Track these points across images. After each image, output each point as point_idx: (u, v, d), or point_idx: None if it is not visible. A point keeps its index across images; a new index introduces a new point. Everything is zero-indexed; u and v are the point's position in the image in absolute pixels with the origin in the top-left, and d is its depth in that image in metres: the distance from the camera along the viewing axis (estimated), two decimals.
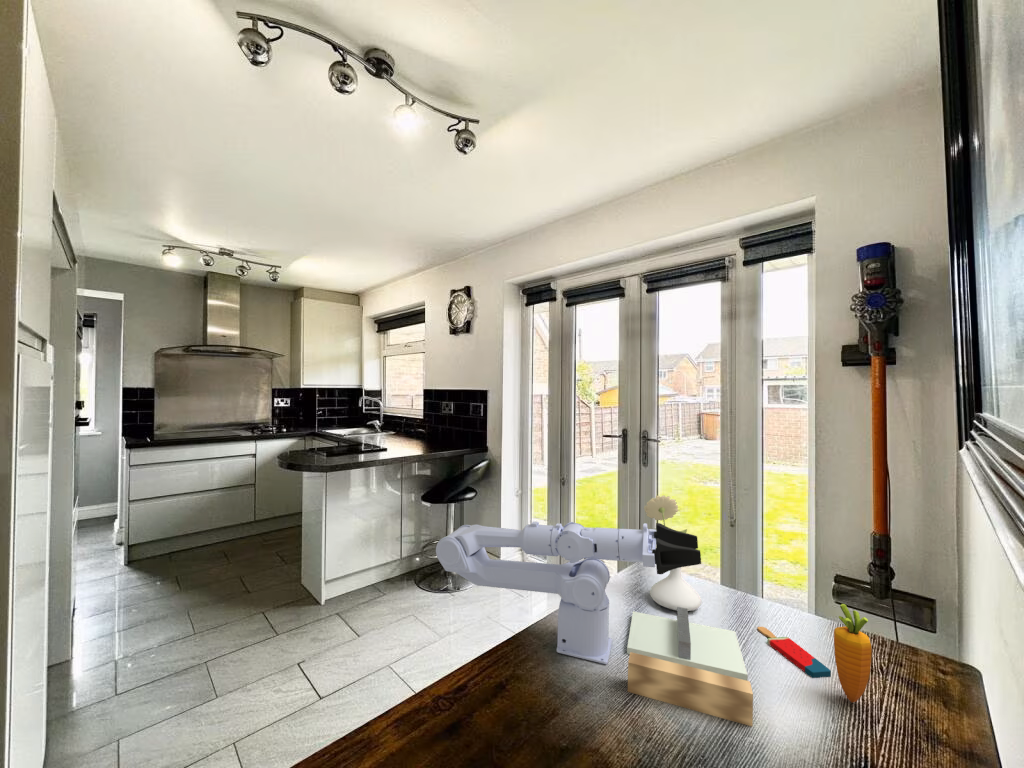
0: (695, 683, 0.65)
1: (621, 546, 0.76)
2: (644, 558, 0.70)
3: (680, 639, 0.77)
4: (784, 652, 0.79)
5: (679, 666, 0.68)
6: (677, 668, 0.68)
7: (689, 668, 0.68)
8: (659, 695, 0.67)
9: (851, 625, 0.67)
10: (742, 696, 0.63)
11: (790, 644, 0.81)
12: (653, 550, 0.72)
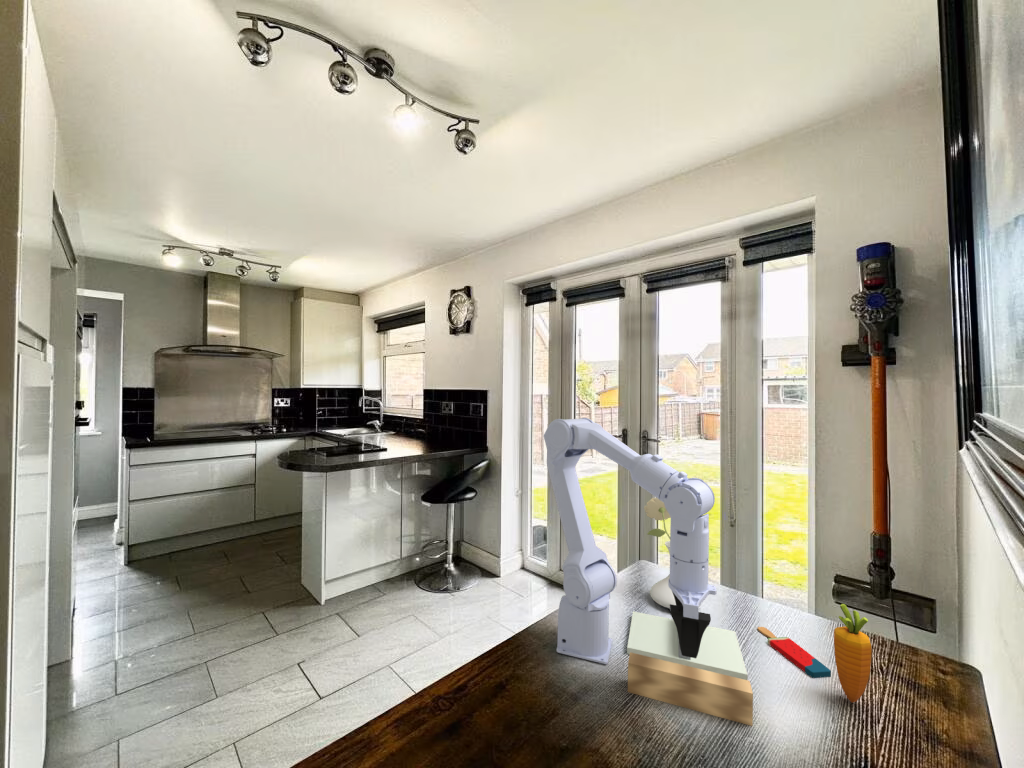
0: (695, 683, 0.65)
1: (694, 566, 0.64)
2: (693, 607, 0.60)
3: None
4: (785, 652, 0.79)
5: (678, 666, 0.68)
6: (677, 668, 0.68)
7: (689, 668, 0.68)
8: (659, 695, 0.67)
9: (851, 625, 0.67)
10: (742, 695, 0.63)
11: (790, 644, 0.81)
12: None
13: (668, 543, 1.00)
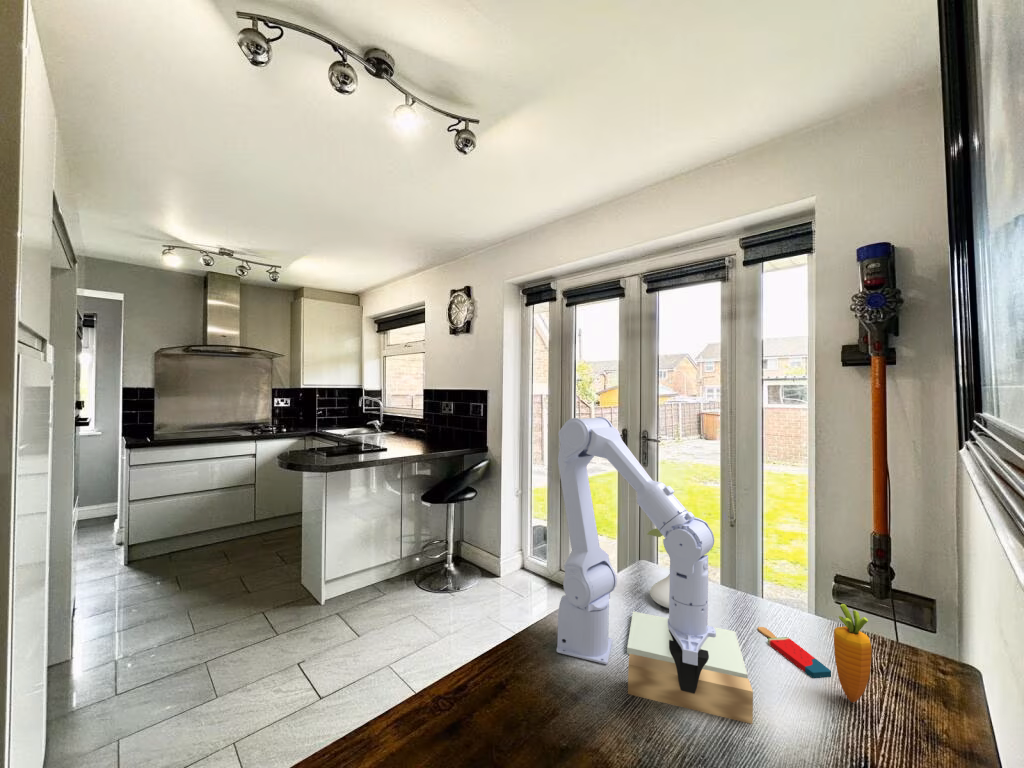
0: None
1: (693, 609, 0.64)
2: (693, 653, 0.60)
3: None
4: (785, 653, 0.79)
5: None
6: None
7: None
8: (660, 696, 0.67)
9: (851, 625, 0.67)
10: (742, 693, 0.63)
11: (790, 644, 0.81)
12: None
13: None
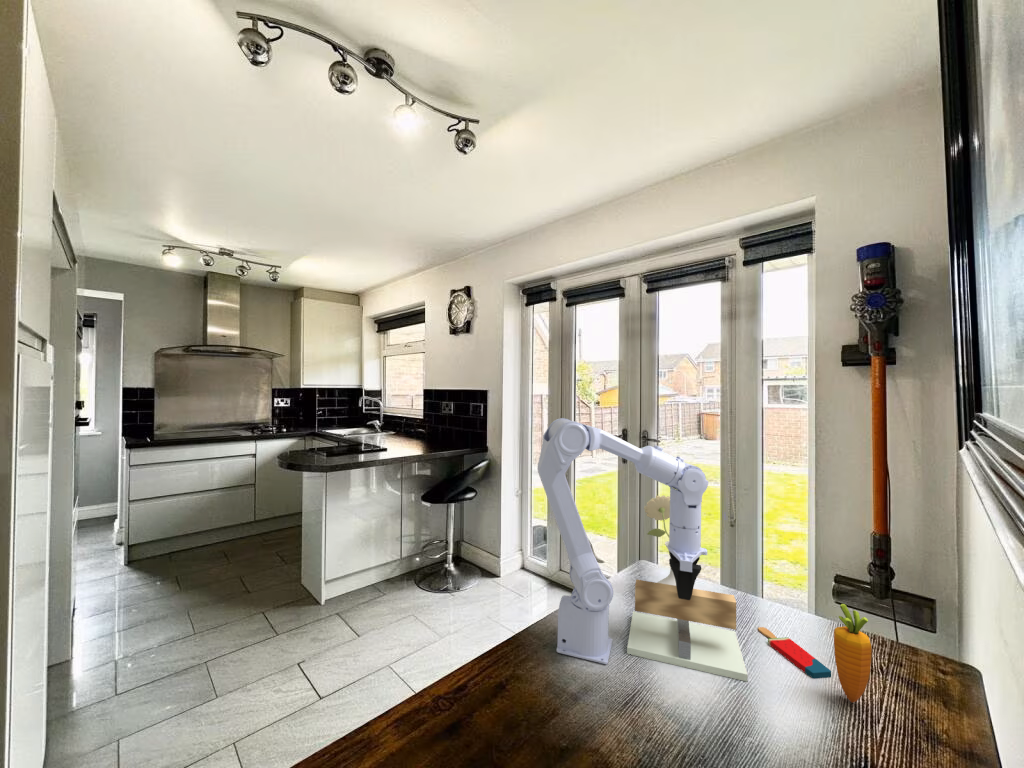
0: None
1: (689, 532, 0.79)
2: (688, 563, 0.75)
3: (680, 639, 0.77)
4: (785, 653, 0.79)
5: None
6: (675, 588, 0.83)
7: None
8: (661, 610, 0.82)
9: (851, 625, 0.67)
10: (728, 604, 0.78)
11: (790, 645, 0.81)
12: None
13: (668, 543, 1.00)
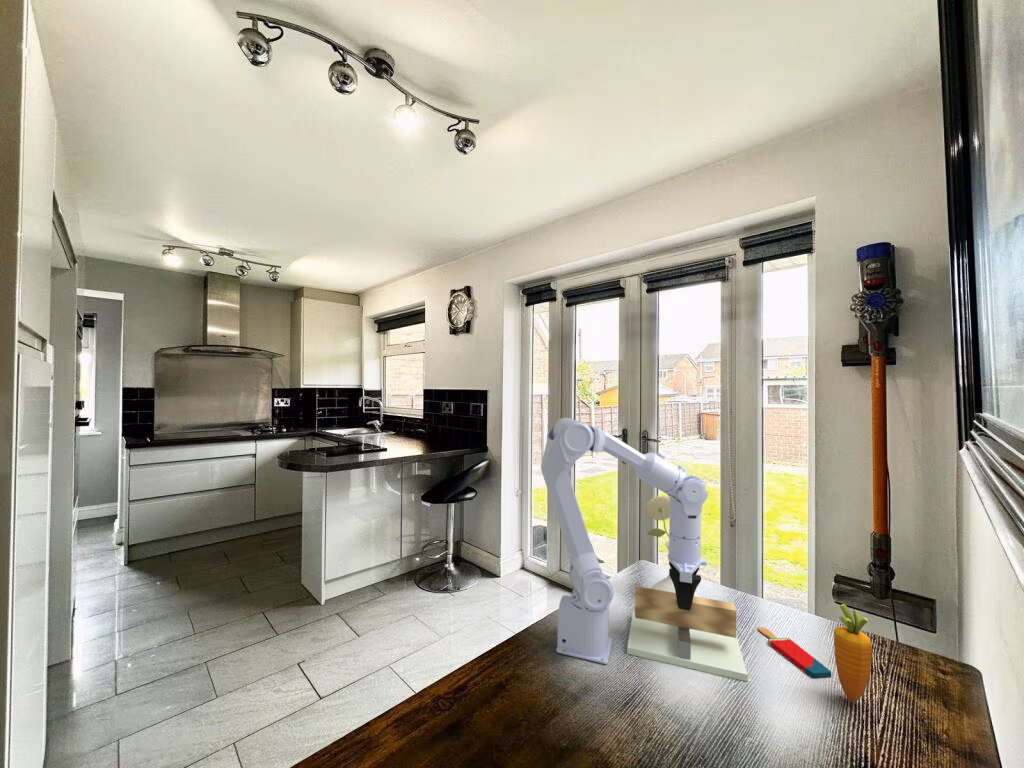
0: None
1: (688, 542, 0.79)
2: (688, 574, 0.75)
3: (680, 639, 0.77)
4: (785, 653, 0.79)
5: None
6: (675, 596, 0.83)
7: None
8: (661, 617, 0.82)
9: (851, 625, 0.67)
10: (728, 612, 0.78)
11: (791, 645, 0.81)
12: None
13: (668, 543, 1.00)
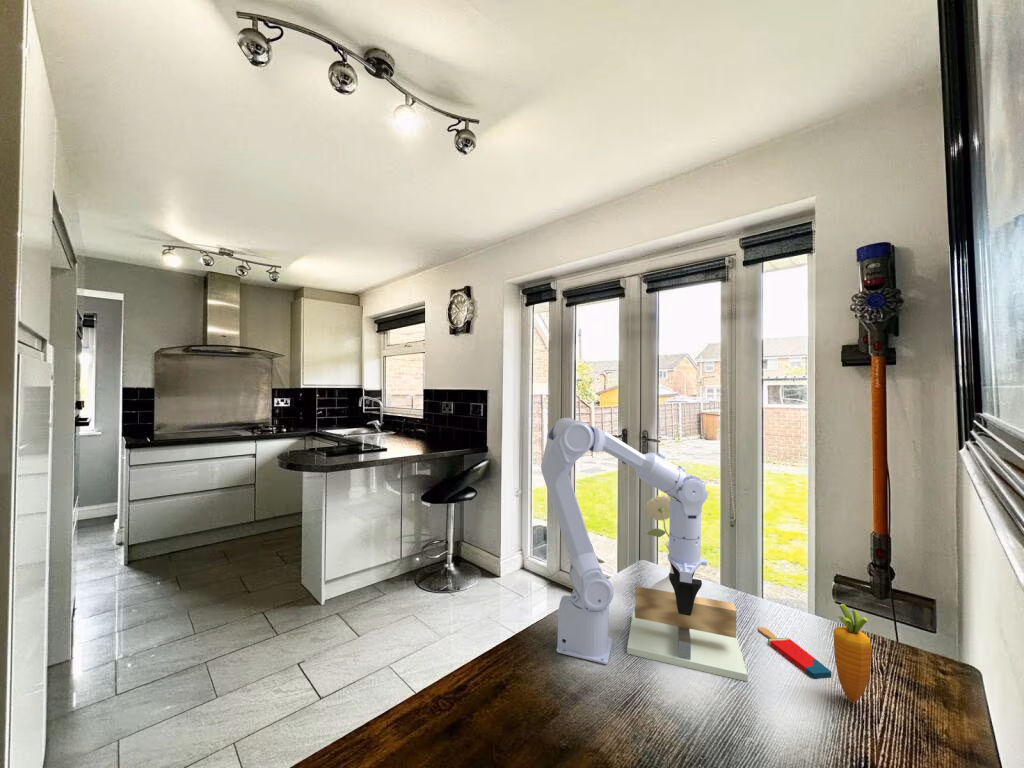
0: None
1: (688, 542, 0.79)
2: (688, 574, 0.75)
3: (680, 639, 0.77)
4: (785, 653, 0.79)
5: None
6: (675, 596, 0.83)
7: None
8: (661, 617, 0.82)
9: (851, 625, 0.67)
10: (728, 612, 0.78)
11: (791, 645, 0.81)
12: None
13: (668, 543, 1.00)
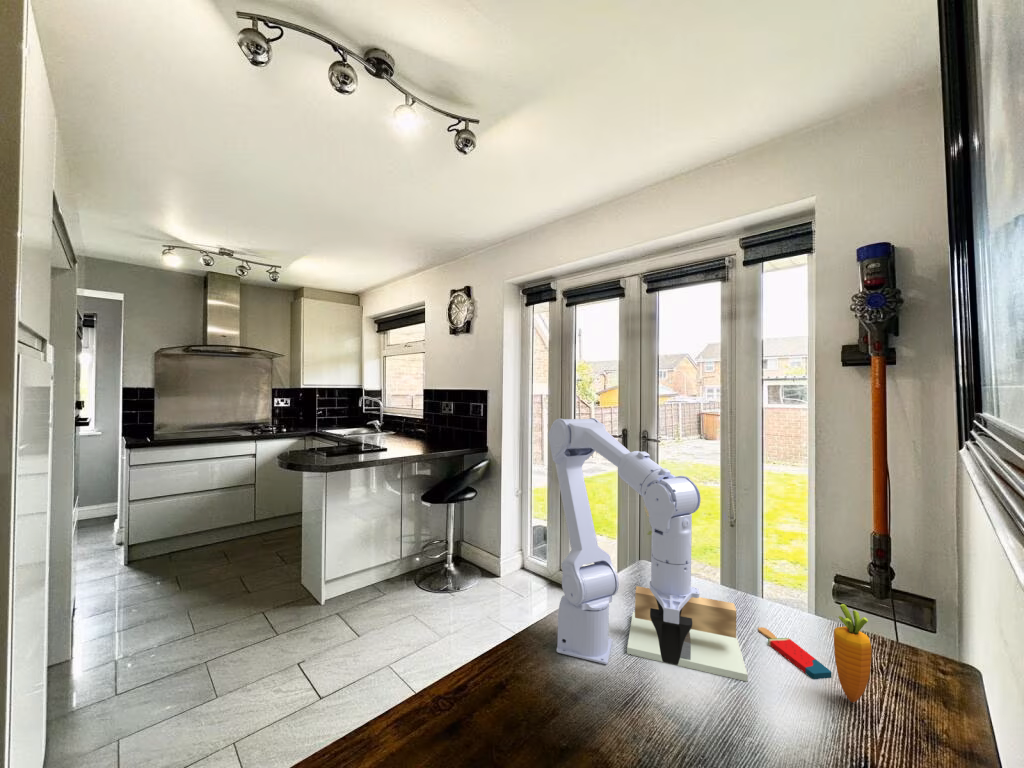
0: (690, 605, 0.80)
1: (675, 568, 0.61)
2: (674, 611, 0.57)
3: None
4: (785, 653, 0.79)
5: None
6: None
7: None
8: None
9: (851, 625, 0.67)
10: (728, 612, 0.78)
11: (791, 645, 0.81)
12: None
13: None
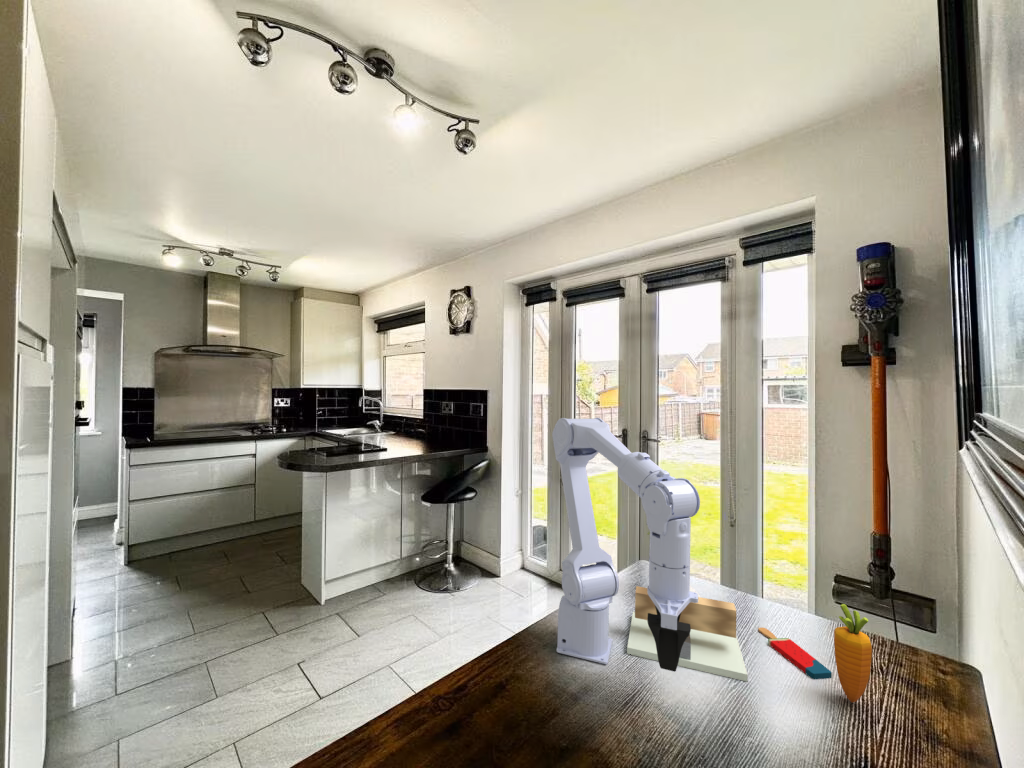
0: (690, 605, 0.80)
1: (673, 572, 0.60)
2: (672, 617, 0.56)
3: None
4: (785, 653, 0.79)
5: None
6: None
7: None
8: None
9: (851, 625, 0.67)
10: (728, 612, 0.78)
11: (791, 645, 0.81)
12: None
13: None
